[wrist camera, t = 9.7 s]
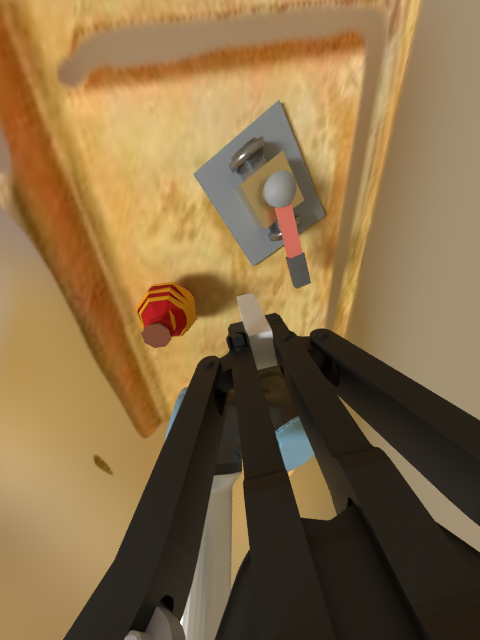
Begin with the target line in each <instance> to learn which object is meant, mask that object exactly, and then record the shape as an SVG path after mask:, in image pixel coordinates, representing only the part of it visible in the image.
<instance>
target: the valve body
mask: <svg viewBox="0 0 480 640" xmlns="http://www.w3.org/2000/svg"><path fill="white" fill-rule="evenodd" d="M265 146H266V142H265V140H264V138H263V136H261V137H260V138H258V139H257V138H256V137H254V138H252V139H251V140H250V141H248V142H247V143H246V144H245V145H243V146H242V147H241V148H240V149H239V150H238V151H237V152H236V153H235V154H234V155H233V157H232V158H231V160H232V162H231V163H230V165H229V168H230V169H231V171H232V173H234V172H236V171H238V172H239V174H240V176H241V178H242V180H243V183H241V184H240V185H239V187H238V188H237V189H236V190H237V192H238V194H239V195H240V197H241V199H242V201H243V202H244V204H245V206H246V208H247V209H248V211H249V213H250V215H251V216H252V218H253V220H254V222H255V223H256V225H257V227H259V228H262V229H266V228H268V227H269V229H270V231H271V232H270V233H269V234H268V237H269V239H270V241H280V240H282V239H283V238H282V234H281V230H280V227H279V223H278V219H277V215H276V211H275V208H273V207H270V206H269V205H268V204H267V203H266V202H265V200H264V197H263V186H264V184H265V182H266V180H267V179H268V178H269V177H270V176H271V175H273V174H274V173H275V172H277V171H281V170H285V171H288V172H290V173H291V174H292V175H293V173H292V170H291V168H290V166H289V163H288V161H287V159H286V157H285V154H284V152H283V150H282V151H281V152H280V153H279V154H277V155H276V156H275V157H274V158H272V159H271V160H270V161H269V162H268V161H267V159H266V157H265V154H264V152H263V150H262V149H263V148H264V147H265ZM293 176H294V175H293ZM294 178H295V177H294ZM296 185H297V190H296V194H295V197H294V199H293V200H292V202H291V203H292V208H295V207H296V206H297V205H299V204H300V203H301V202H303V201H304V198H303V196H302V194H301V191H300V189H299V187H298V184H297V182H296ZM294 217H295V221H296V226H297V229H298V227H299V225H300V224H301V222H302V220H301V218H300V216H299V215H295V216H294Z"/></svg>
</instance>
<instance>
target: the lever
mask: <svg viewBox="0 0 480 640" xmlns="http://www.w3.org/2000/svg"><path fill="white" fill-rule="evenodd" d="M296 190H297V185H296V180H295V178H294V176H293V175H292V174H291V173H290V172H288V171H285V170H281V171H277V172H275V173H274V174H273V175H271V176H270V177H269V178H268V179H267V180H266V182H265V184H264V186H263V197H264V200H265V202H266V203H267V204H268V205H269V206H270V207H273V208H275V211H276V215H277V219H278V223H279V227H280V230H281V234H282V238H283V242H284V246H285V250H286V253H287V257H286V260H287V264H288V267H289V271H290V275H291V279H292V282H293V286H294V287H295V288H300V287H302V286H305V285H307V284H310V283H311V281H310V277H309V272H308V268H307V263H306V258H305V254H304V253H303V252H302V249H301V244H300V240H299V235H298V231H297V226H296V221H295V217H294V212H293V208H292V203H291V202H292V200H293V199H294V197H295V194H296Z"/></svg>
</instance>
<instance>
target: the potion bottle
mask: <svg viewBox="0 0 480 640" xmlns="http://www.w3.org/2000/svg"><path fill="white" fill-rule="evenodd" d="M159 285H160V286H159ZM135 308H136V311H137V314H138V317H139V320H140V323H141V327H142V328H143V329H144V330H143V332H142V333H141V334H142V337H143V339H144V342H145V343H146V344H148V345H150V346H152V347H154V348H157V347H165V346H166V345H167V344H168V343H169V342H170V340H171V337H179V336H183V335H184V334H185V332H187V331H188V330H189V328H190V327H191V326H192V325H193V323H194V322H195V321H196V320H197V317H196V309H195V300H194V297H193V295H192V294H191V293H190V292H189V291H188V290H186V289H185V288H182V287H181V286H179V285H178V284H176V283H163V284H157V285H152V286H151V287H150V289H149V290H148V292H147V293H146V294H145V295H144V297H143V298H142V299H141V301H140V302H139V303H138V305H137V306H136V307H135Z"/></svg>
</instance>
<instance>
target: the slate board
mask: <svg viewBox="0 0 480 640" xmlns="http://www.w3.org/2000/svg"><path fill="white" fill-rule="evenodd" d="M261 136H263V138H264V140H265V142H266V146H265V147H264V148H263V149H262V150H263V152H264V154H265V157H266V159H267V161H268V162H269V161H270V160H271V159H272V158H274V157H275V156H276V155H277V154H279V153H280V152H281V151H282V150H283V152H284V154H285V157H286V159H287V161H288V163H289V166H290V168H291V170H292V173H293V175H294V177H295V180H296V182H297V184H298V187H299V189H300V191H301V194H302V196H303V198H304V201H303V202H301V203H300V204H299V205H297V206H296V207H295V208H293V212H294V216H295V215H299V216H300V218H301V220H302V222H301V224H300V225H299V227H298V229H297V231H298V234H300V233H301V232H302V231H304V230H305V229H307V228H308V227H309V226H311V225H312V224H314V223H315V222H317V221H318V220H319V219H321V218H322V217H324V216H325V213H324V211H323V208H322V206H321V203H320V201H319V198H318V196H317V193H316V191H315V188H314V186H313V183H312V181H311V178H310V176H309V173H308V171H307V168H306V166H305V163H304V161H303V158H302V156H301V153H300V151H299V148H298V146H297V143H296V141H295V138H294V136H293V133H292V131H291V128H290V126H289V123H288V121H287V118H286V115H285V113H284V110H283V108H282V105H281V103H280V100H278V101H277V102H276V103H275V104H274V105H273V106H271V107H270V108H269V109H268V110H267V111H266V112H264V113H263V114H262V115H261V116H260V117H259V118H257V119H256V120H255V121H254V122H253V123H252V124H251V125H249V126H248V127H247V128H246V129H245V130H244V131H242V132H241V133H240V134H239V135H238V136H237V137H235V138H234V139H233V140H232V141H231V142H230V143H229V144H227V145H226V146H225V147H224V148H223V149H222V150H220V151H219V152H218V153H217V154H216V155H215V156H213V157H212V158H211V159H210V160H209V161H208V162H207V163H205V164H204V165H203V166H202V167H201V168H200V169H198V170H197V171H196V172H195V173H194V176H195V177H196V179H197V180H198V182H199V184H200V185H201V187H202V188H203V190H204V191H205V193H206V194H207V196H208V197H209V199H210V201H211V202H212V204H213V205H214V207H215V208H216V210H217V211H218V213H219V214H220V216H221V218H222V219H223V221H224V222H225V224H226V225H227V227H228V228H229V230H230V231H231V233H232V235H233V236H234V238H235V239H236V241H237V242H238V244H239V245H240V247H241V248H242V250H243V252H244V253H245V255H246V256H247V258H248V259H249V261H250V262H251V264H252V265H253V266H255V265H256V264H257V263H259V262H260V261H262V260H263V259H264V258H266V257H267V256H269V255H270V254H271V253H273V252H274V251H276V250H277V249H278V248H280V247H281V246H283V245H284V242H283V239H282V240H280V241H270V239H269V237H268V234H269V233H270V232H271V231H270V229H269V227H268V228H266V229H262V228H259V227H257V225H256V223H255V222H254V220H253V218H252V216H251V215H250V213H249V211H248V209H247V208H246V206H245V204H244V202H243V201H242V199H241V197H240V195H239V194H238V192H237V190H236V189H237V188H238V187H239V185H240V184H241V183H243V180H242V178H241V176H240V174H239V172H238V171H236V172H234V173H232V171H231V169H230V168H229V165H230V163H231V162H232V160H231V158H232V157H233V155H234V154H235V153H236V152H237V151H238V150H239V149H240V148H241V147H242V146H243V145H245V144H246V143H247V142H248V141H250V140H251V139H252V138H254V137H256V138H257V139H258V138H260V137H261Z"/></svg>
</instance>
